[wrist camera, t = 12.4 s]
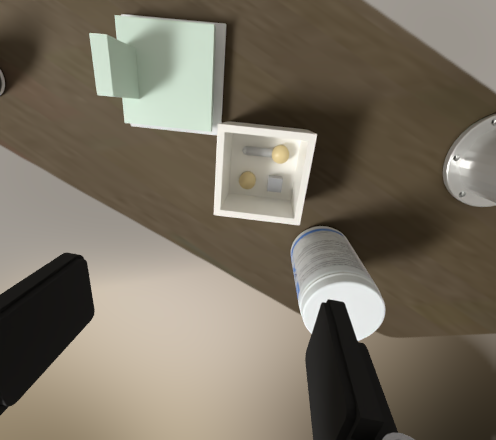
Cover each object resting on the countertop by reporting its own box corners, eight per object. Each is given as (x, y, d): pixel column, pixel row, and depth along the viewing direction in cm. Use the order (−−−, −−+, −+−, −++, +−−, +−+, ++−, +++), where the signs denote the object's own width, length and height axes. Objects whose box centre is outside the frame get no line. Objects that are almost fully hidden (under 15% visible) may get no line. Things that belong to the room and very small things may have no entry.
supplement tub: (278, 249, 43) (282, 312, 29) (322, 212, 40) (348, 263, 26) (317, 283, 45) (337, 357, 31) (361, 250, 42) (405, 317, 28)
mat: (226, 24, 31) (225, 23, 31) (220, 135, 36) (220, 135, 36) (123, 15, 32) (121, 14, 31) (132, 125, 37) (130, 125, 36)
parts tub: (307, 129, 35) (317, 134, 28) (294, 204, 39) (299, 225, 32) (228, 121, 35) (217, 123, 28) (224, 195, 40) (213, 214, 33)
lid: (217, 29, 31) (201, 3, 24) (213, 130, 36) (199, 135, 28) (123, 20, 32) (79, -7, 24) (132, 122, 36) (96, 124, 29)
